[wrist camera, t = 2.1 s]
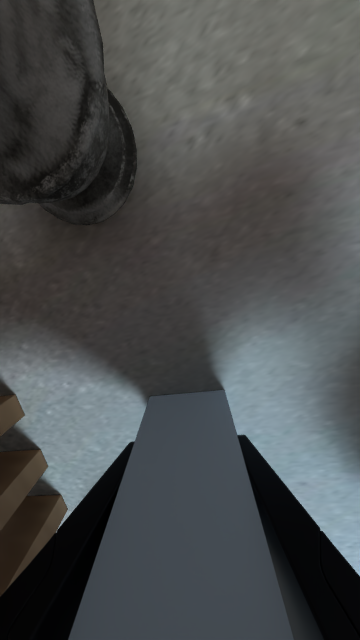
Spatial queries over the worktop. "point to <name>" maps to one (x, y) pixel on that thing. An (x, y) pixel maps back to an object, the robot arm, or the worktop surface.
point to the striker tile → (184, 537)
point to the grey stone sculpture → (60, 114)
